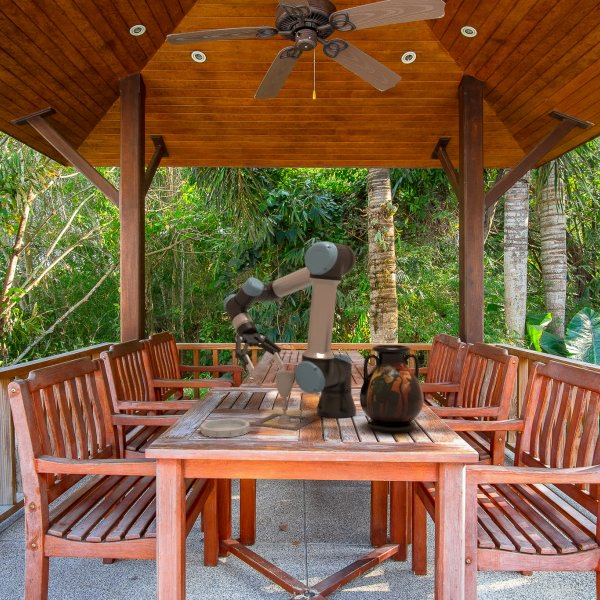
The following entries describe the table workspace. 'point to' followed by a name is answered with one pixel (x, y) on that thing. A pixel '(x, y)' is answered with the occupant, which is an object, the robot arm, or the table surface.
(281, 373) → the chalice
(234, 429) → the plate
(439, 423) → the table surface
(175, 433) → the table surface
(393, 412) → the amphora vase
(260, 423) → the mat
